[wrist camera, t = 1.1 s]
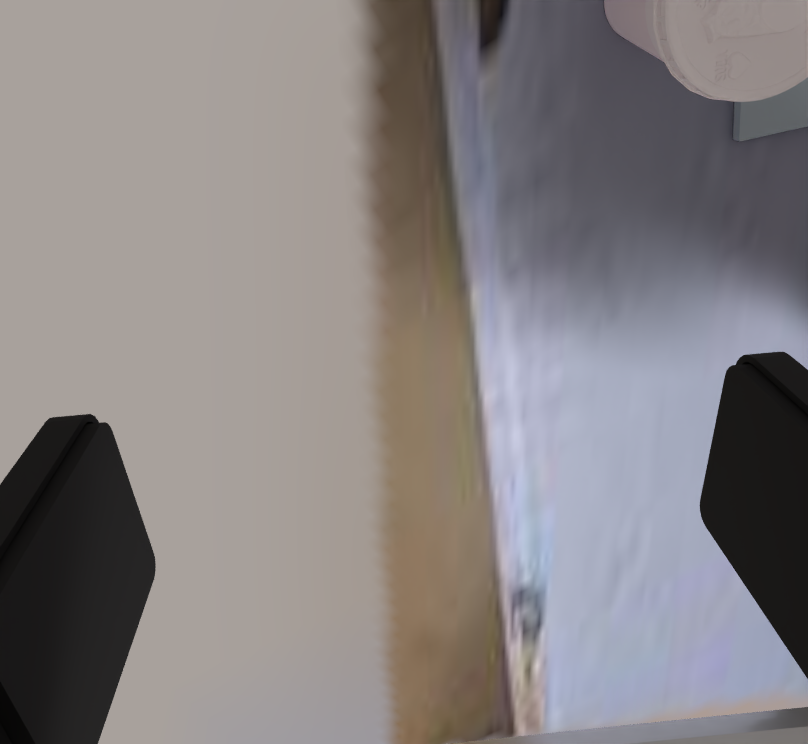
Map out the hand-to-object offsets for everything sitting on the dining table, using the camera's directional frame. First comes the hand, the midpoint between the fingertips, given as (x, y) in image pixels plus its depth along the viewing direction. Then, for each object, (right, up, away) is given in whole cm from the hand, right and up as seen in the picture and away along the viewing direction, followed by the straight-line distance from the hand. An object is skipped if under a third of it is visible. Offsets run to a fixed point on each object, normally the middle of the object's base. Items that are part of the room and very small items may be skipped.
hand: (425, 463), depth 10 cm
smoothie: (+10, +18, +18) cm, 27 cm away
